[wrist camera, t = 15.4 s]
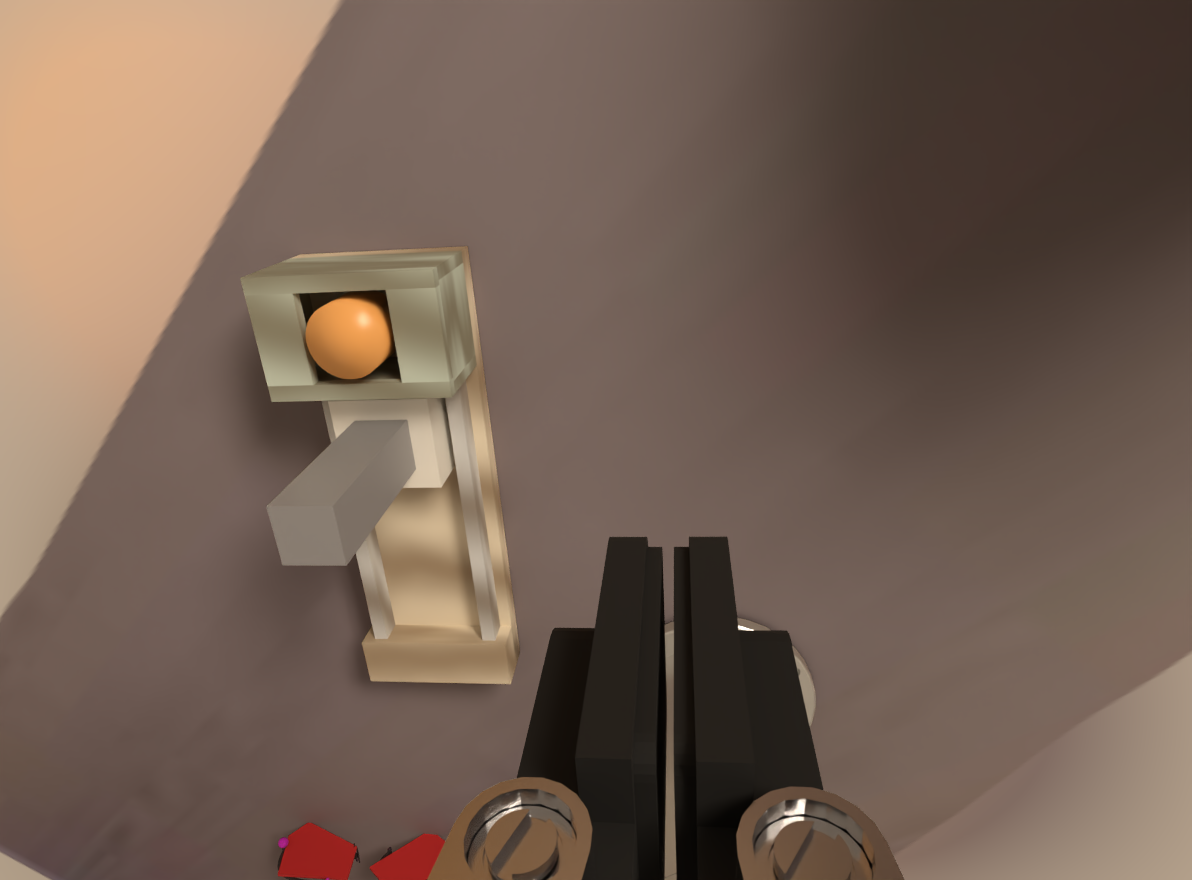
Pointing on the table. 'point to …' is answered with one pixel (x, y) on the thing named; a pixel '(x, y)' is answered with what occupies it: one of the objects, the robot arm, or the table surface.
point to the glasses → (352, 857)
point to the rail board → (417, 515)
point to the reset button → (351, 334)
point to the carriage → (360, 477)
